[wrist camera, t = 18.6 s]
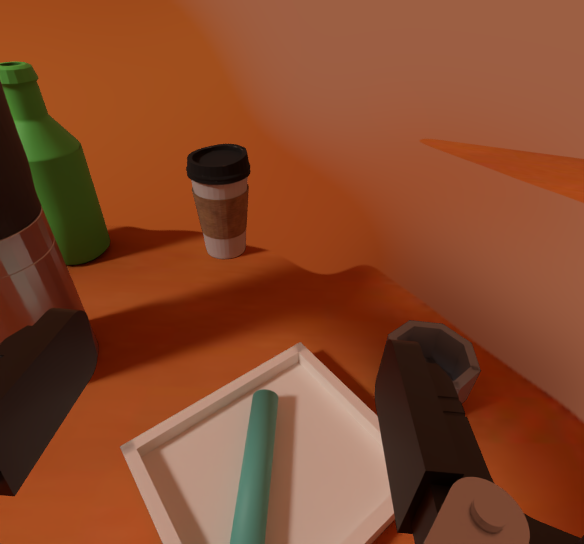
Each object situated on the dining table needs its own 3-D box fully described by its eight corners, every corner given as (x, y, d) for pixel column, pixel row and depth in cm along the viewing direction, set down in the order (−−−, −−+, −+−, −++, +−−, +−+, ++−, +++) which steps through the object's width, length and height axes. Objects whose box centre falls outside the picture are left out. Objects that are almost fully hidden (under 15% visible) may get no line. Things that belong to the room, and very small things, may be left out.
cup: (363, 380, 40) (371, 345, 37) (412, 345, 44) (423, 310, 41) (428, 439, 35) (444, 404, 32) (476, 393, 39) (494, 358, 36)
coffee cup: (262, 255, 58) (260, 158, 49) (208, 270, 55) (195, 169, 46) (241, 229, 64) (235, 138, 55) (191, 241, 61) (176, 146, 51)
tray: (127, 461, 33) (119, 446, 32) (299, 357, 43) (300, 342, 41) (229, 692, 23) (225, 686, 21) (427, 485, 32) (434, 471, 31)
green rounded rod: (259, 406, 37) (234, 591, 26) (248, 392, 36) (216, 580, 24) (282, 402, 36) (266, 589, 25) (272, 387, 35) (250, 577, 24)
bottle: (68, 233, 61) (-1, 55, 46) (121, 237, 61) (70, 59, 46) (34, 266, 54) (-59, 69, 39) (94, 271, 54) (23, 73, 39)
